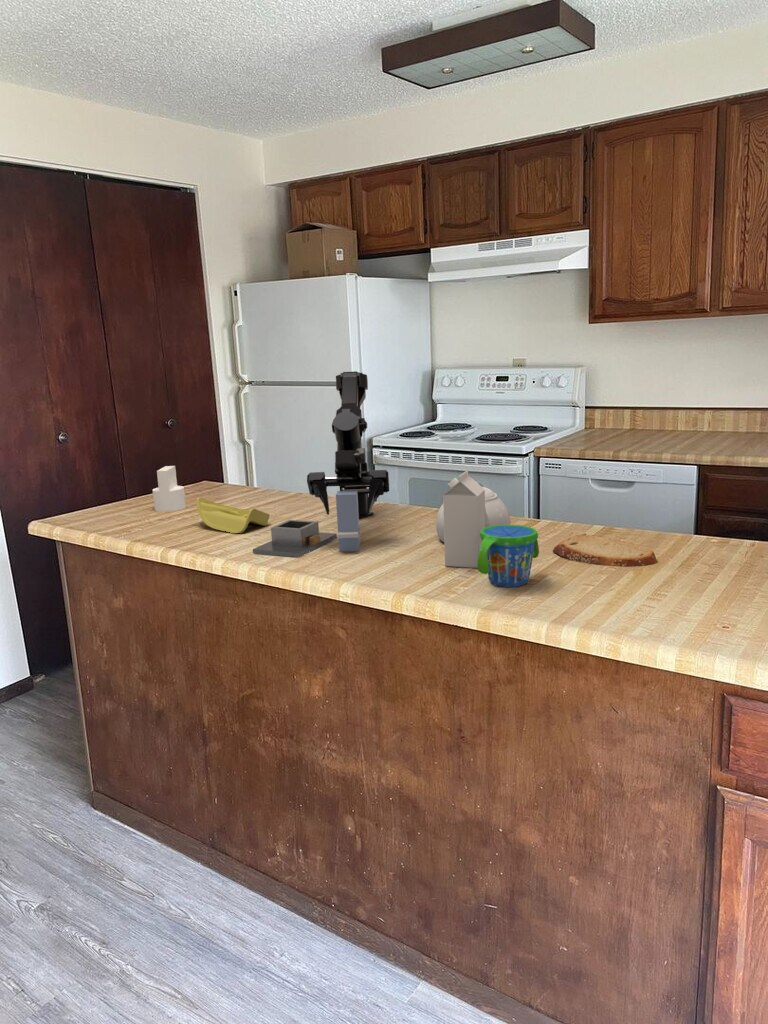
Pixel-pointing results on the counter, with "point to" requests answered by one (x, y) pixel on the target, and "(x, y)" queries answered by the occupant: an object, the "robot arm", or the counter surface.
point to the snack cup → (507, 554)
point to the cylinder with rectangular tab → (168, 491)
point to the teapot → (493, 513)
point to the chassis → (294, 539)
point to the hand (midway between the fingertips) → (348, 512)
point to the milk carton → (463, 521)
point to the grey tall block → (348, 520)
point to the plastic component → (229, 516)
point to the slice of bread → (604, 551)
